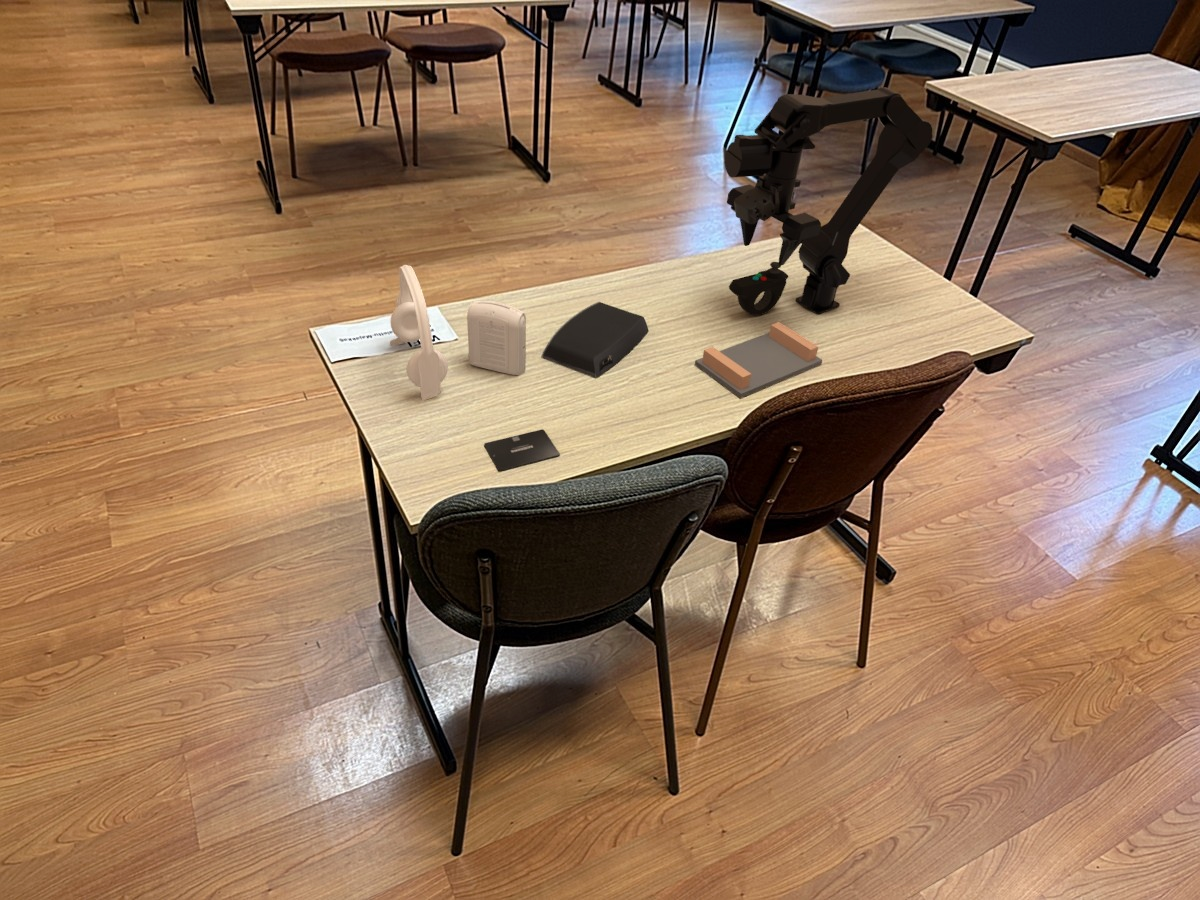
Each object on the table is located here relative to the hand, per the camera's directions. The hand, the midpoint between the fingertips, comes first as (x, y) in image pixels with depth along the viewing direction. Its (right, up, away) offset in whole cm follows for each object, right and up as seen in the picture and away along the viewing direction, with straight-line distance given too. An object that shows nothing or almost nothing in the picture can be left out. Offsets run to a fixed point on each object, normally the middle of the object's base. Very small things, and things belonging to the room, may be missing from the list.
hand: (763, 255), depth 157 cm
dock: (-2, -21, -6) cm, 22 cm away
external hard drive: (-31, -18, -3) cm, 36 cm away
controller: (0, -10, +8) cm, 13 cm away
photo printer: (-49, -22, -10) cm, 54 cm away
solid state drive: (-43, -37, -28) cm, 63 cm away
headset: (-62, -23, -12) cm, 67 cm away
